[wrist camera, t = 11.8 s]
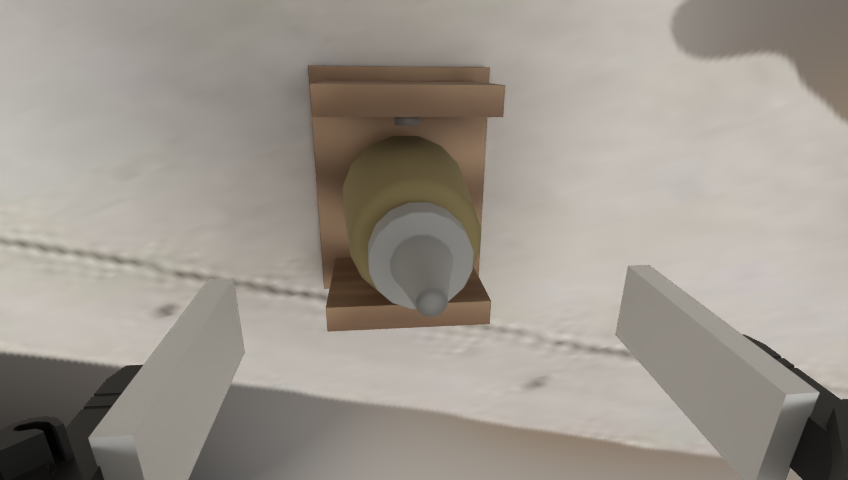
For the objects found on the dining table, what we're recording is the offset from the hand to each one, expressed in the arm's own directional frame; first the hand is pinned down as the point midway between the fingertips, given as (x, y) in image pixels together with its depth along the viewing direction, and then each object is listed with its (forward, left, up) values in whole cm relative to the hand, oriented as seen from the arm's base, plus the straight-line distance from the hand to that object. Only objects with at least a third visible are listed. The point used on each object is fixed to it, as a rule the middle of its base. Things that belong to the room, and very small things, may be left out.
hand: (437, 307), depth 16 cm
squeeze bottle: (0, 0, -19) cm, 19 cm away
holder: (0, 0, -20) cm, 20 cm away
